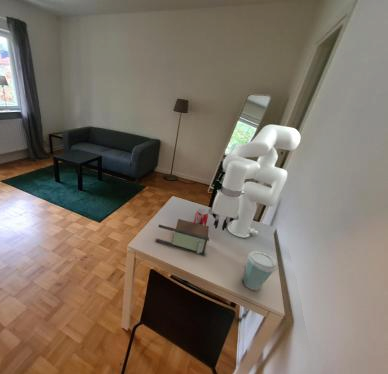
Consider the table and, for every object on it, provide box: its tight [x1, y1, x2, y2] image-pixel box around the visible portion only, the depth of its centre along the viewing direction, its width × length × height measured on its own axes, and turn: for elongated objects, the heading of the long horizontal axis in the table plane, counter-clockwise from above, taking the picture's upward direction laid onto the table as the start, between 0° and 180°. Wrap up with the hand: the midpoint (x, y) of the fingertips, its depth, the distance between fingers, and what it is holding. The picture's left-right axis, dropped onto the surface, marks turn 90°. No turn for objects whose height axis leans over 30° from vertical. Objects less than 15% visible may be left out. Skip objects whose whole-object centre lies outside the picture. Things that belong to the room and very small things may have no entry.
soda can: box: [193, 208, 209, 226], centre depth 124 cm, size 7×7×12 cm
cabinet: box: [155, 218, 210, 256], centre depth 112 cm, size 25×12×10 cm, turn 71°
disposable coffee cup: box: [242, 250, 278, 291], centre depth 89 cm, size 11×11×15 cm
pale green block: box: [171, 232, 205, 253], centre depth 105 cm, size 15×4×8 cm, turn 71°
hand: (219, 227), depth 95 cm, fingers closed
